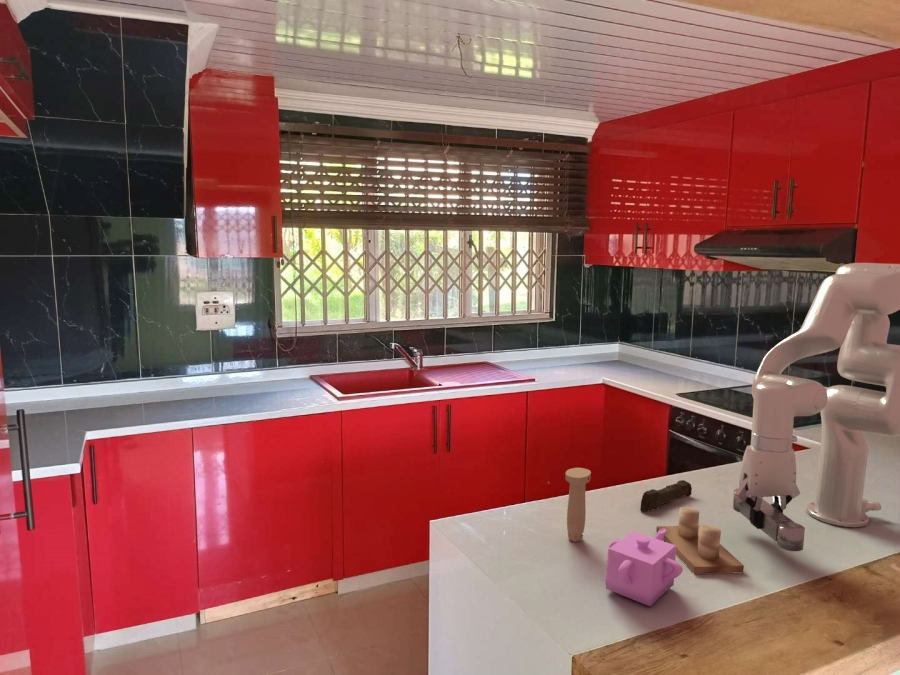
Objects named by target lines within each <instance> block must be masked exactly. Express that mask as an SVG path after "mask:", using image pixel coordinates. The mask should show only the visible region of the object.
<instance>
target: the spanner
mask: <svg viewBox="0 0 900 675" xmlns="http://www.w3.org/2000/svg"><path fill="white" fill-rule="evenodd" d="M737 490H738V488H735V489H733V502H732V509H733V510H734V511H735V512H737V513H739V514H741V515H742V516H744V518H746V519H747V520H748V521H750V519H749V518H750V506H749V505H748V504H747V503H746V502H745V501H743V500H742V499H740V498H738V497H737V496H736V495H735V493H736V491H737ZM746 495H747V496H749V490H748V491H747V492H746ZM760 510H761V511H762V526H761V529H760V530H761V531H762V532H763V533H764V534H765V535H767V536H768V537H769V538H771V539H772V540H773V541H774V542H776V545H777V546H778V547H779V548H781V549H783V550H785V551H790V552H801V551H803V550H804V545H805V544H804V542H805V527H804V526H803V525H802V524H800V523H797V522H795V521H794V520H792V518H789V517H788V516H787V515H785V514H784V512H783V513H781V512H780V511H779V510H777V509H776V508H774V507H773V506H772V505H771V503H769V502H768V501H766V500H765V499H762V503H761V508H760Z"/></svg>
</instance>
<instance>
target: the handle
mask: <svg viewBox="0 0 900 675" xmlns="http://www.w3.org/2000/svg"><path fill="white" fill-rule="evenodd" d="M591 474H592V472H591V470H589V469H587V468H584V467H573V468H569V469H567V470H566V471H565V481H566V482H568V483H569V491H568V492H569V493H568V502H567V509H566V529H567V538H568V540H569V541H572V542H575V543H577V542H582V541H583V539H584V537H583V536H584V535H583V534H584V532H585V527H586V525H585V524H586V510H587V509H586V484H588V483H590V480H591V478H592V477H591Z"/></svg>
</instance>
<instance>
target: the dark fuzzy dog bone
mask: <svg viewBox="0 0 900 675" xmlns="http://www.w3.org/2000/svg"><path fill="white" fill-rule="evenodd" d="M692 489H693V487H692V484H691V483H690V482H688V481H686V480H678V481H677V482H676V483H673V484H670V485H666V486H665V487H663V488H660V489H657V490H656V489H653V488H652V489H650V490H646V491H644V492H643V494H642V497H641V500H640V507H639V508H640V510H639V511H640V512H649V511H648V510H650V511H653V510H652V509H654V510H658V509H657V508H659V507H660V506H662V505H663V504H666V503H671V501H674V500H676V499H679V498H682V497H685V495H686V497H688V496H689V497H691V495H692V491H693V490H692Z"/></svg>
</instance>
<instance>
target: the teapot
mask: <svg viewBox="0 0 900 675" xmlns="http://www.w3.org/2000/svg"><path fill="white" fill-rule="evenodd" d="M665 532H666V529H660V530H659V531H658V533H656V535H655V537H652V536H649V535H646V534H642V533H640V532H636V531H631V532H630V533H628V534H627V535H626V536H624V537H623V538H621V539H615V540H613V541H611V542H610V543H609V546H608V549H607V560H606V576H605V577H606V579H605V580H606V581H605V589H606V590H607V591H610V592H612V593H616V594H617V595H620V596H622V597H625V598H628V599H630V600H632V601H635V602H638V603H640V604H643V605H645V606H648V607H652V605H654V604H655V603H656V602H657V601H658V600H659V599H660V598H661V597H662V596H663V595H665V593H667V591H669V590H670V588H672V587H673V586H674V585H675V579H677V578H678V577H679V576H681V575H682V573H683V571H684V569H683V566H682V565H681V564H680V563H679V562H678V561H676V558H677V557H676V556H677V555H676V545H673V544H670V543H667V542H664V541H663V538H664V534H665Z"/></svg>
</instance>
